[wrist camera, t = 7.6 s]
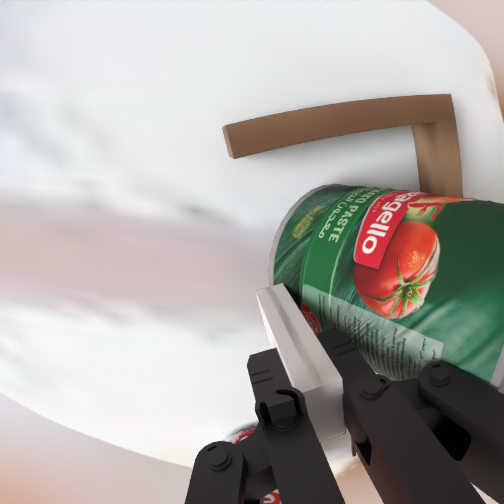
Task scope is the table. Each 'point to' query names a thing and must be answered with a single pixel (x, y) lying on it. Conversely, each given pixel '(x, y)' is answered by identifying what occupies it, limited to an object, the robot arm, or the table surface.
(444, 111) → the walnut bay
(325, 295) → the canned tomato
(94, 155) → the table surface
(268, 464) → the robot arm
